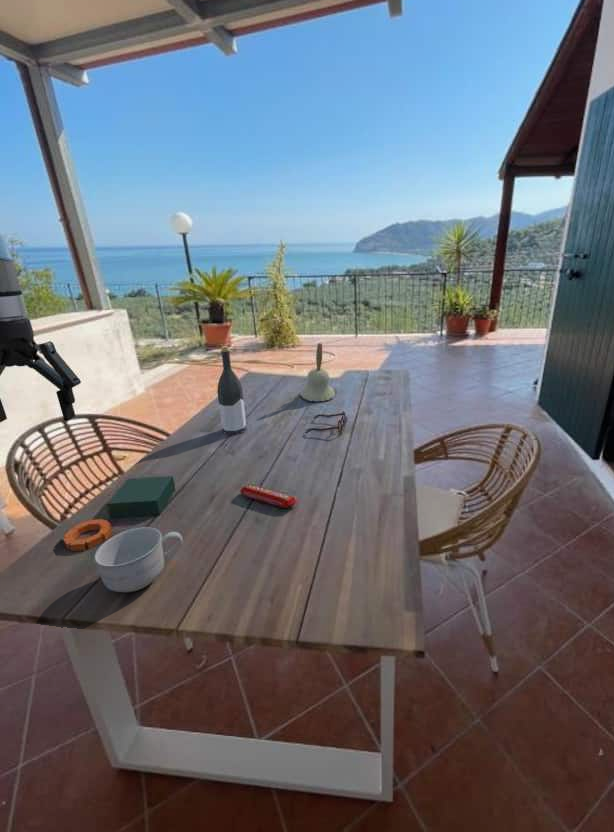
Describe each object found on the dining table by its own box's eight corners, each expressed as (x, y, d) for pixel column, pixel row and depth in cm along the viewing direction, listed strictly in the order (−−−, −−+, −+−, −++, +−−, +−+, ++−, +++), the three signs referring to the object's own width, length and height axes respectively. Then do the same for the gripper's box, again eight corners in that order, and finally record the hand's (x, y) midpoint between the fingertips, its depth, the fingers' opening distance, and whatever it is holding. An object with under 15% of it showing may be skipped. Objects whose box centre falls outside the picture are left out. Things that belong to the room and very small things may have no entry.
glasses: (341, 437, 131) (340, 423, 130) (303, 435, 133) (302, 421, 131) (346, 422, 144) (346, 409, 142) (312, 420, 145) (311, 407, 143)
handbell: (326, 386, 180) (328, 335, 168) (340, 401, 168) (345, 348, 156) (294, 391, 172) (295, 338, 160) (307, 408, 161) (309, 352, 149)
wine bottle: (232, 424, 142) (222, 343, 132) (251, 427, 139) (242, 344, 129) (217, 433, 135) (206, 348, 124) (237, 436, 132) (226, 349, 122)
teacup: (96, 608, 67) (85, 572, 64) (112, 564, 77) (103, 531, 74) (183, 588, 71) (176, 553, 68) (188, 549, 81) (182, 516, 78)
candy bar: (299, 504, 95) (298, 494, 94) (290, 513, 92) (289, 502, 91) (247, 489, 102) (246, 479, 101) (237, 496, 98) (236, 486, 97)
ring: (57, 552, 80) (54, 545, 79) (79, 526, 88) (77, 520, 87) (99, 549, 81) (97, 542, 80) (117, 523, 88) (116, 518, 88)
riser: (110, 518, 90) (106, 503, 89) (131, 491, 101) (127, 478, 99) (159, 514, 92) (156, 500, 90) (175, 489, 102) (172, 475, 100)
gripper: (83, 315, 80) (106, 410, 87) (-51, 317, 77) (-15, 415, 84) (61, 320, 73) (88, 424, 80) (-87, 322, 70) (-45, 430, 77)
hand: (35, 420), depth 82 cm, fingers open, 13 cm apart
